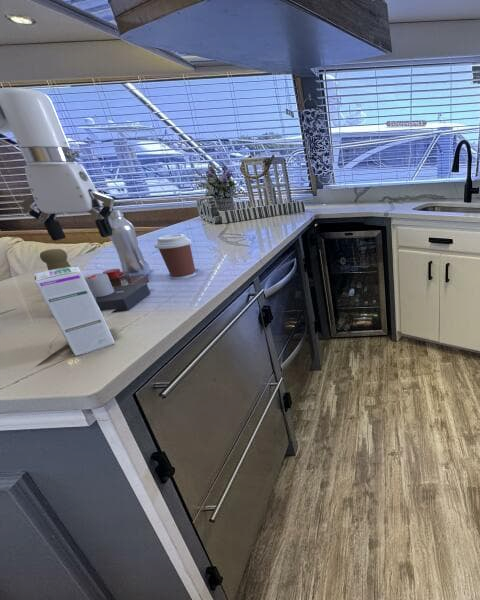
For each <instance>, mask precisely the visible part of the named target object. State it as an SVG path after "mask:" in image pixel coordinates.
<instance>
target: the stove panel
mask: <svg viewBox="0 0 480 600" xmlns="http://www.w3.org/2000/svg"><path fill="white" fill-rule="evenodd" d="M147 283H148V282H147ZM147 283H145V284H136V285H126V286H116V287H113V289H114V292H113V293H112V294H109V295H106V296H102V297H94V298H95V300H96V302H97V304H98V306H99V308H100V311H101V312H102V311H108V310H113V311H111V312H110V313H120V312H121V313H122V312H129V311H130V310H132V309H133V308H134V307H135V306H138V304H139V303H141V302H142V301H143V300H145V299H146V298H147V297H149V296H150V295H151V292H150V289H149V286H148V284H147Z"/></svg>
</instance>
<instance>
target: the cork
mask: <svg viewBox="0 0 480 600" xmlns="http://www.w3.org/2000/svg"><path fill="white" fill-rule="evenodd" d="M39 258H40V260H41V261H42V262H43V263H45V264H46V267H47V271H49V270H53V269H58V268H64V267H72V266H71V264H70V263H69V262H68V260H67V259H68V254H67V252H66V250H64V249H61V248H52V249H51V248H50V249H46V250H43V251H41V252H40V253H39Z"/></svg>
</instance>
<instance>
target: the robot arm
mask: <svg viewBox="0 0 480 600" xmlns="http://www.w3.org/2000/svg"><path fill="white" fill-rule="evenodd" d="M1 133H2V134H3V133H7V134H8V133H12V135H13V136H14V139H15V141H16V144H17V146H18V148H19V150H20V152H21V155H22V157H23V159H24V161H25V163H26V165H24V172H25V177H26V180H27V184H28V187H29V190H30V193H31V195H30V196H29V197H27V198H26V199H24V200H22V201H21V202H20V203H19V205H20V206H21V207H22V208H23V209H24V210H25V211H26V212H27V213H28V215H30V216H31V217H33V218H35V219H36V220H38V222H39V223H41V224H43V226H44V227H45V230H46V231H47V234H48V236H49V237H50V238H51V241H53V242H54V241H61V240H64V239H65V238H66V235H65V232H64V230H63V227H62V225H61V224H60V221H59V220H56V218H57V216H58V214H69V213H71V214H73V213H85V212H87V213H88V214H90V215H92V216H93V217H94V218H95V221H94V222H95V225H96V226H97V230H98V232H99V234H100V235H99V236H100V237H101V238H107V237H108V238H109V236H111V235H112V228H111V225H110V223H109V219H108V218H109V217H110V214H111V212H112V211H113V210H114V205H115V199H114V198H113V197H111V196H108V195H105V194H103V193H100V192H98V190H97V189H96V187H95V184H94V182H93V180H92V179H91V177H90V175H89V174H88V172H87V171H86V169H85V168H84V166H83V165H82V164H81V163H77V160H76V159H79V158H80V153H79V152H78V151H77V150H73V149H72V148H71V146H70V144H69V141H68V140H67V137H66V133H65V131H64V129H63V127H62V124H61V121H60V118H59V117H58V113H57V112H56V109H55V107H54V104H53V101H52V100H51V98H50V97H49V95H47V94H46V93H45V92H44V91H43V92H42V91H40V90H37V89H32V88H27V87H26V88H24V87H14V86H13V87H11V86H10V87H9V86H7V87H0V134H1ZM36 206H37V207H36Z"/></svg>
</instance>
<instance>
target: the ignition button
mask: <svg viewBox="0 0 480 600" xmlns="http://www.w3.org/2000/svg"><path fill="white" fill-rule="evenodd" d="M121 272H122V270H121V268H112V269H106V270H103V272H102V273H106V274H107V275H108V277H109V278H112V277H117V276H120V275H122V274H121Z"/></svg>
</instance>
